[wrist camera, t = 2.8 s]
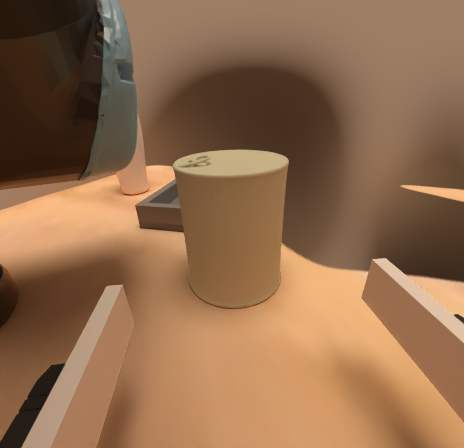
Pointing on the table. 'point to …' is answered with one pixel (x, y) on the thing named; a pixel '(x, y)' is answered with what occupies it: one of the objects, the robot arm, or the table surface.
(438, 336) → the robot arm
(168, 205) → the tray
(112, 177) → the table surface
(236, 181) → the can
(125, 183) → the drinking glass
